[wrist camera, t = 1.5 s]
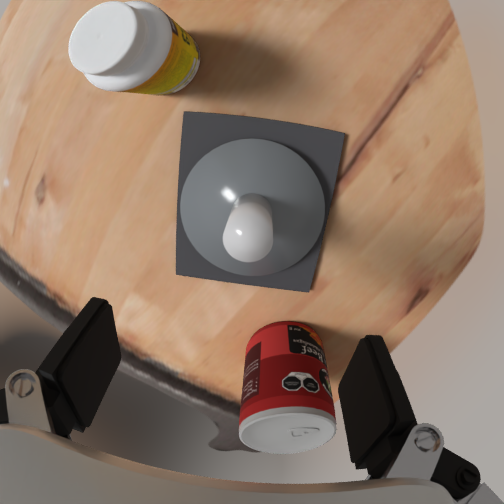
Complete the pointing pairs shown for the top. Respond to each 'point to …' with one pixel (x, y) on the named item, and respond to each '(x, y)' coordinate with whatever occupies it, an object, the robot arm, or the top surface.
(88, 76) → the supplement bottle
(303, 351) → the canned food
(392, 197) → the top surface
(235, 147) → the lid
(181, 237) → the mat
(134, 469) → the robot arm
